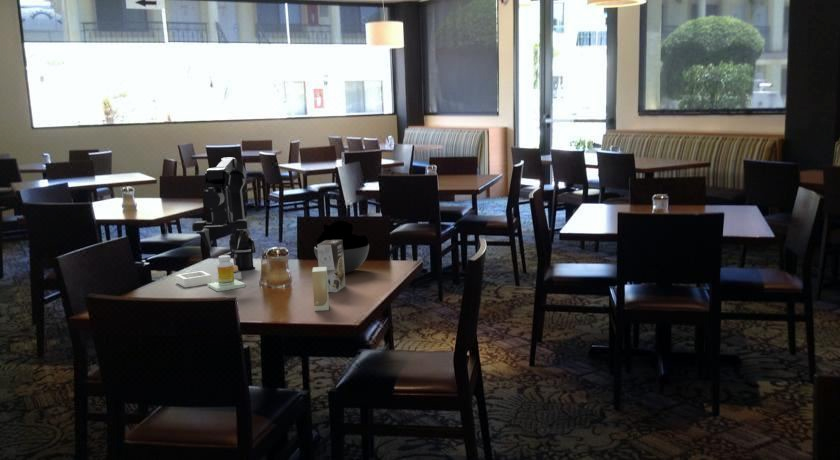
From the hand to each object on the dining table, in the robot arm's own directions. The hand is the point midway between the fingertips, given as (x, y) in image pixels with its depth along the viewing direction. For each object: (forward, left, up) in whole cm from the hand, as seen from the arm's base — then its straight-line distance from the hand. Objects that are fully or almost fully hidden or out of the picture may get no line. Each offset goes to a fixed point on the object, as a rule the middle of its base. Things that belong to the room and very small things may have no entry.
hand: (223, 249), depth 262 cm
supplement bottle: (0, 0, -12) cm, 12 cm away
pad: (0, 0, -13) cm, 13 cm away
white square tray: (+7, -14, -13) cm, 20 cm away
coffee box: (-26, +30, -13) cm, 42 cm away
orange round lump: (-5, -11, -13) cm, 17 cm away
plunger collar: (-5, -11, -13) cm, 18 cm away
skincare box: (-12, +50, -13) cm, 53 cm away
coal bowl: (-41, +9, -13) cm, 44 cm away
